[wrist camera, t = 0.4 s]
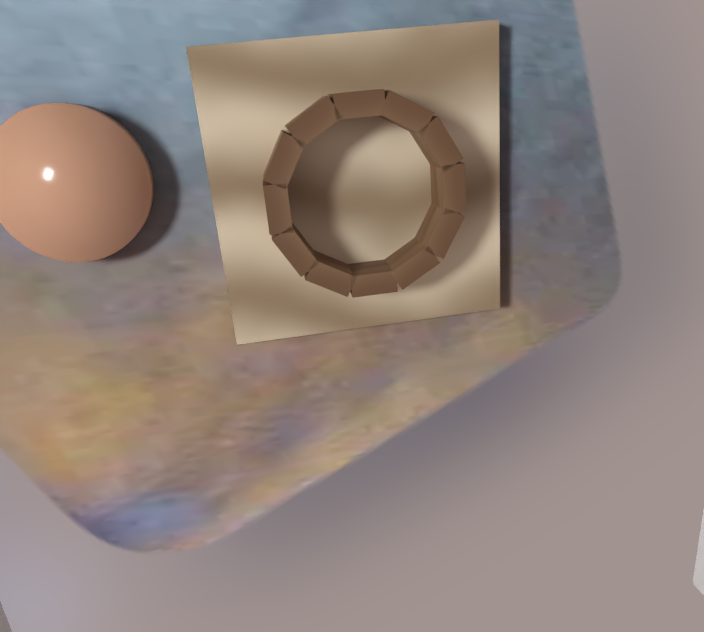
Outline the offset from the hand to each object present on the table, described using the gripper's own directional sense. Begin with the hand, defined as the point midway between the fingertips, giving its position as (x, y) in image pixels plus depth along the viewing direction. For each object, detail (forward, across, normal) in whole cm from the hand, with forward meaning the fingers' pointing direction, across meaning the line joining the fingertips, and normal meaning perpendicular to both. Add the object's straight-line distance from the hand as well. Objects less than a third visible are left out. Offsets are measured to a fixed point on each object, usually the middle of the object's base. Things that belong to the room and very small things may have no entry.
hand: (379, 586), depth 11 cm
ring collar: (+26, +4, +3) cm, 26 cm away
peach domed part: (+26, -11, +5) cm, 29 cm away
